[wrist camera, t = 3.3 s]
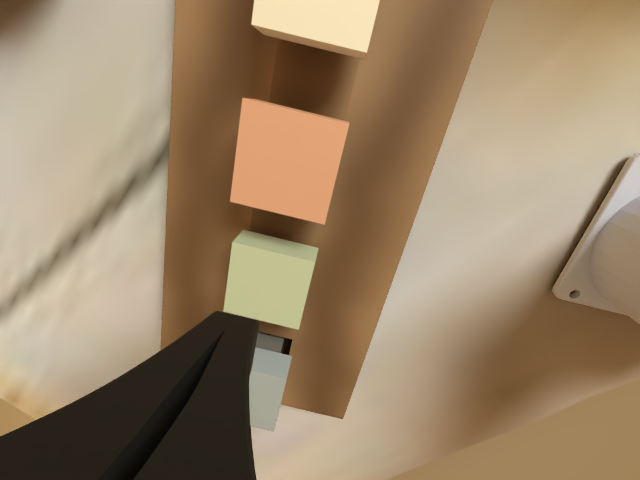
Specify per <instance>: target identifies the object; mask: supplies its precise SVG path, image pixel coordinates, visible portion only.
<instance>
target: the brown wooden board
mask: <svg viewBox="0 0 640 480" xmlns="http://www.w3.org/2000/svg"><path fill="white" fill-rule="evenodd" d="M492 2H493V0H380V2H379V6H378V10H377V14H376V18H375V22H374V26H373V30H372V34H371V38H370V42H369V46H368V50H367V54H366V58H365V60H364V59H360V58H356V57H352V56H348V55H344V54H340V53H336V52H332V51H328V50H323V49H319V48H315V47H311V46H307V45H303V44H299V43H295V42H291V41H287V40H283V39H279V38H275V37H270V36H266V35H263V34H262V33H261V32H260V31H258V30H257V29H256V28H255V27H254V26H253V25H251V23H252V14H253V6H254V0H176V3H175V26H174V50H173V73H172V97H171V120H170V144H169V167H168V191H167V214H166V238H165V262H164V285H163V309H162V332H161V350H162V349H164V348H165V347H167V346H168V345H170V344H171V343H172V342H174V341H175V340H177V339H178V338H180V337H181V336H182V335H184V334H185V333H186V332H188V331H189V330H191V329H192V328H193V327H195V326H196V325H197V324H199V323H200V322H201V321H203V320H204V319H205V318H206V317H208V316H209V315H210V314H212V313H213V312H215V311H221V312H223V310H224V302H225V294H226V287H227V279H228V271H229V264H230V256H231V248H232V242H233V241H234V240H235V238H236V237H237V236H238V235H239V234H240V233H241V232H242V231H243V230H247V231H251V232H255V233H259V234H263V235H268V236H272V237H276V238H280V239H284V240H288V241H292V242H296V243H300V244H304V245H309V246H313V247H317V248H319V249H318V253H317V257H316V261H315V266H314V270H313V274H312V278H311V282H310V286H309V290H308V294H307V298H306V302H305V306H304V310H303V314H302V318H301V323H300V327H299V330H297V329H293V328H289V327H285V326H281V325H277V324H273V323H269V322H265V321H260V320H257V321H258V323H259V329H258V331H259V332H263V333H267V334H272V335H276V336H280V337H284V338H288V339H292V344H291V348H290V352H289V355H290V356H292V359H291V363H290V367H289V372H288V376H287V380H286V384H285V388H284V392H283V396H282V400H281V404H282V405H286V406H290V407H295V408H299V409H303V410H307V411H311V412H315V413H319V414H323V415H328V416H332V417H336V418H340V419H343V417H344V415H345V412H346V409H347V406H348V403H349V401H350V398H351V395H352V392H353V389H354V387H355V384H356V381H357V378H358V376H359V373H360V370H361V367H362V364H363V362H364V359H365V356H366V353H367V350H368V348H369V345H370V342H371V339H372V336H373V334H374V331H375V328H376V325H377V323H378V320H379V317H380V314H381V311H382V309H383V306H384V303H385V300H386V297H387V295H388V292H389V289H390V286H391V283H392V281H393V278H394V275H395V272H396V270H397V267H398V264H399V261H400V258H401V256H402V253H403V250H404V247H405V244H406V242H407V239H408V236H409V233H410V230H411V228H412V225H413V222H414V219H415V217H416V214H417V211H418V208H419V205H420V203H421V200H422V197H423V194H424V191H425V189H426V186H427V183H428V180H429V177H430V175H431V172H432V169H433V166H434V164H435V161H436V158H437V155H438V152H439V150H440V147H441V144H442V141H443V138H444V136H445V133H446V130H447V127H448V125H449V122H450V119H451V116H452V113H453V111H454V108H455V105H456V102H457V99H458V97H459V94H460V91H461V88H462V85H463V83H464V80H465V77H466V74H467V72H468V69H469V66H470V63H471V60H472V58H473V55H474V52H475V49H476V46H477V44H478V41H479V38H480V35H481V32H482V30H483V27H484V24H485V21H486V19H487V16H488V13H489V10H490V7H491V5H492ZM242 98H250V99H257V100H261V101H265V102H269V103H273V104H278V105H282V106H286V107H290V108H294V109H298V110H302V111H306V112H310V113H314V114H318V115H322V116H327V117H331V118H335V119H339V120H343V121H347V122H350V123H349V128H348V132H347V136H346V140H345V144H344V148H343V152H342V156H341V160H340V164H339V168H338V172H337V177H336V181H335V185H334V189H333V193H332V197H331V201H330V205H329V209H328V213H327V217H326V221H325V225H324V224H320V223H316V222H311V221H307V220H303V219H299V218H295V217H291V216H287V215H283V214H279V213H275V212H270V211H266V210H262V209H258V208H254V207H250V206H246V205H242V204H238V203H234V202H230V197H231V188H232V180H233V172H234V163H235V155H236V147H237V139H238V130H239V122H240V114H241V105H242ZM225 313H227V312H225ZM229 314H232V313H229ZM233 315H236V314H233ZM238 316H240V315H238ZM242 317H244V316H242ZM246 318H248V317H246ZM250 319H252V318H250ZM255 320H256V319H255Z"/></svg>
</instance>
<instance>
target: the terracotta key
mask: <svg viewBox="0 0 640 480" xmlns="http://www.w3.org/2000/svg"><path fill="white" fill-rule="evenodd" d="M349 123H350V122H347V121H343V120H339V119H335V118H331V117H327V116H322V115H318V114H314V113H310V112H306V111H302V110H298V109H294V108H290V107H286V106H282V105H278V104H273V103H269V102H265V101H261V100H257V99H250V98H242V105H241V114H240V122H239V130H238V139H237V147H236V155H235V163H234V172H233V180H232V188H231V197H230V202H234V203H238V204H242V205H246V206H250V207H254V208H258V209H262V210H266V211H270V212H275V213H279V214H283V215H287V216H291V217H295V218H299V219H303V220H307V221H311V222H316V223H320V224H324V225H325V221H326V217H327V213H328V209H329V205H330V201H331V197H332V193H333V189H334V185H335V181H336V177H337V172H338V168H339V164H340V160H341V156H342V152H343V148H344V144H345V140H346V136H347V132H348V128H349Z"/></svg>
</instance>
